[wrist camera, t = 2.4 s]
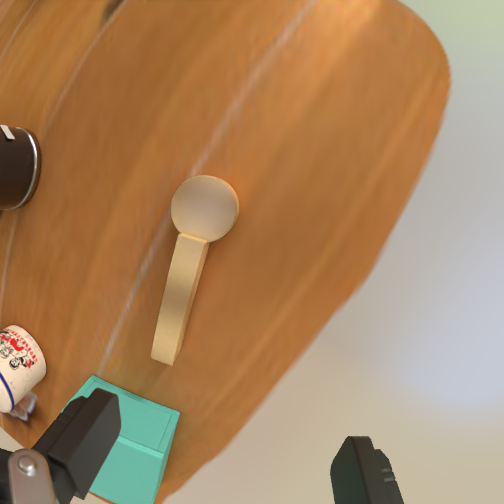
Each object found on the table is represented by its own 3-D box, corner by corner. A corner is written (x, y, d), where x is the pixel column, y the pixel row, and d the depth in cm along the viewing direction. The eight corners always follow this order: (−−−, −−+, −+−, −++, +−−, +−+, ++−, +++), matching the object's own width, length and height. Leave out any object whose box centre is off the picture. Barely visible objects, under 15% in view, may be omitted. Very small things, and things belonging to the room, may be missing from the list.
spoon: (195, 355, 29) (188, 372, 26) (145, 336, 28) (134, 351, 26) (247, 186, 25) (244, 186, 22) (187, 168, 25) (177, 166, 22)
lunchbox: (162, 479, 34) (151, 511, 28) (94, 450, 34) (77, 478, 28) (180, 411, 30) (164, 453, 24) (92, 374, 30) (64, 406, 24)
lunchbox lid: (150, 512, 28) (149, 516, 27) (77, 480, 28) (75, 483, 27) (164, 453, 24) (162, 458, 23) (64, 406, 24) (60, 411, 23)
